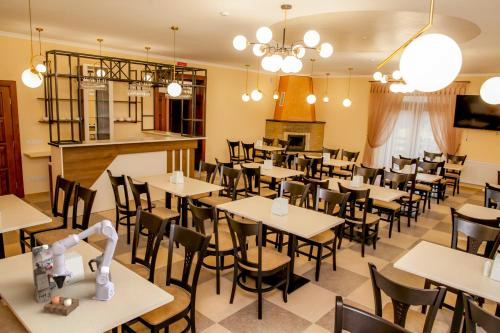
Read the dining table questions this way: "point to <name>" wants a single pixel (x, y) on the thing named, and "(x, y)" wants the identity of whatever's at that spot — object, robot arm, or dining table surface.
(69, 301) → the cream plug
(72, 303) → the socket board
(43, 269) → the coffee box
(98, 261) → the coffeepot
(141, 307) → the dining table surface
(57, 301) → the rust plug
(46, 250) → the juice carton
